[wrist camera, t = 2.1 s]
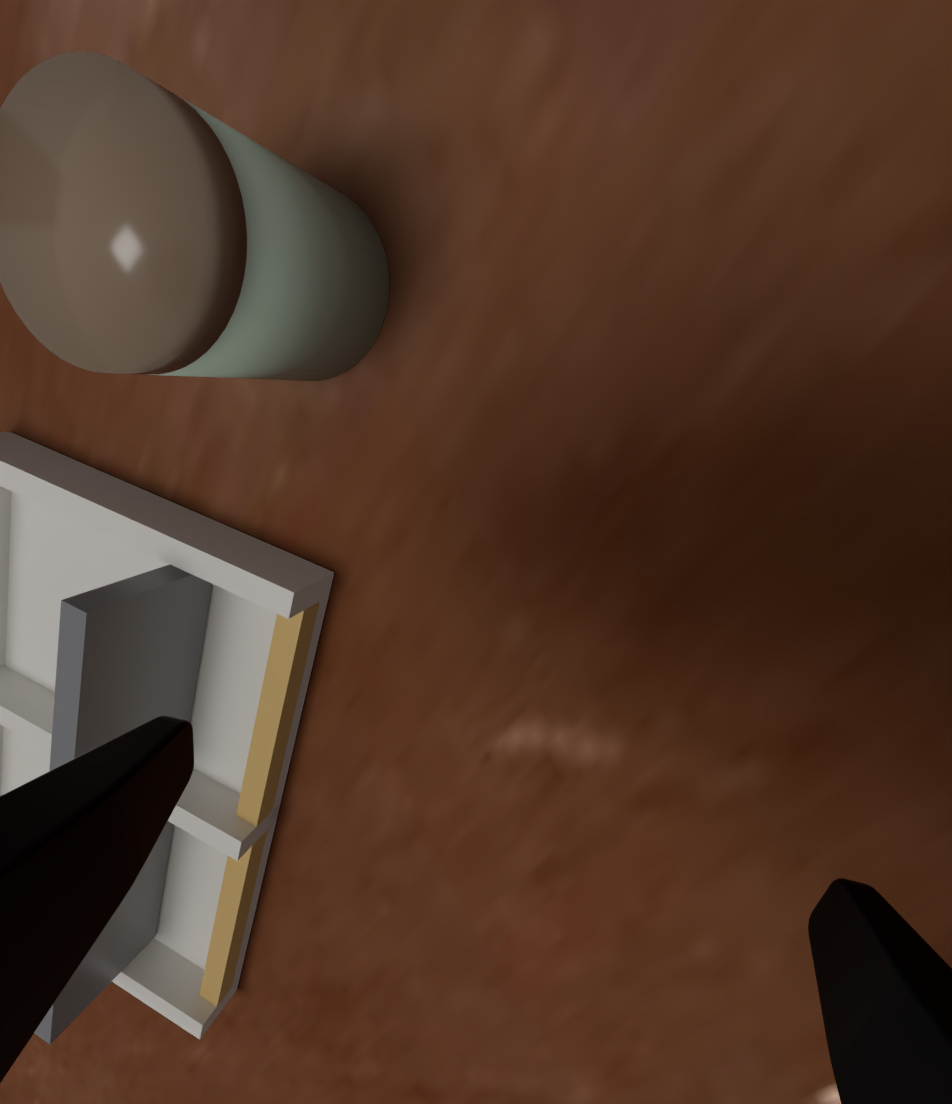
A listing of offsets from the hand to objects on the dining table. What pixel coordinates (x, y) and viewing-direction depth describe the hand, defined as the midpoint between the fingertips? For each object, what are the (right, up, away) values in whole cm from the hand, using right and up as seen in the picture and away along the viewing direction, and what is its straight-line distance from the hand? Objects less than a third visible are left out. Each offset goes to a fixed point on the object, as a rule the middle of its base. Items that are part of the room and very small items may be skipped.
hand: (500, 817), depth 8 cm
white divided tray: (-16, -4, +19) cm, 26 cm away
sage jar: (-6, +12, +12) cm, 18 cm away
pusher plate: (-12, -1, +16) cm, 20 cm away
